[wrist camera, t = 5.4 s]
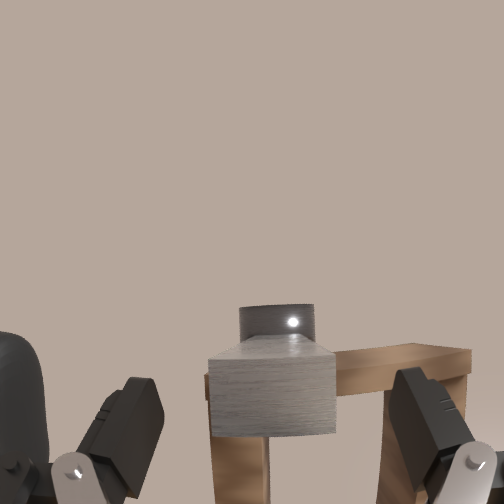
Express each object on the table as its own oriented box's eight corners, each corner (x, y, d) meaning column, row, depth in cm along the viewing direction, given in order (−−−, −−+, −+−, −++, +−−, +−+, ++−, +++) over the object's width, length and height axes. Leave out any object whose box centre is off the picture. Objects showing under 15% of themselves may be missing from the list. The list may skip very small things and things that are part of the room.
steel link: (162, 432, 7) (156, 277, 8) (245, 356, 26) (243, 309, 27) (386, 425, 7) (382, 267, 8) (312, 353, 26) (310, 306, 27)
